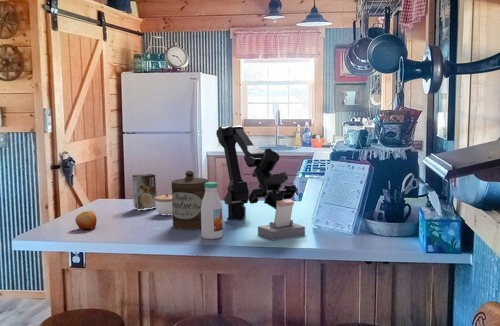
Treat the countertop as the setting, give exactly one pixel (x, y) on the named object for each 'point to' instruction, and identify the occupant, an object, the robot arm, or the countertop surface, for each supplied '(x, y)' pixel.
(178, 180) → the wooden container
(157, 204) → the lidded jar
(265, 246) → the countertop surface
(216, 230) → the milk bottle
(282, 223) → the lever
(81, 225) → the fruit
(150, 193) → the coffee box
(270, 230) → the switch unit
